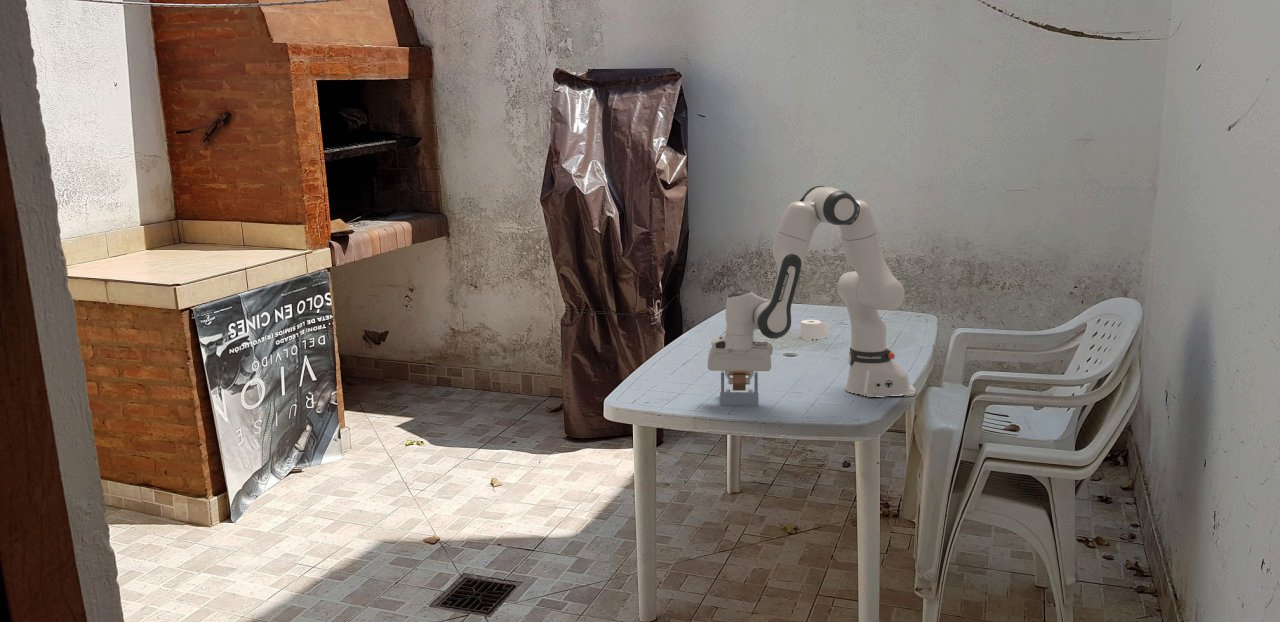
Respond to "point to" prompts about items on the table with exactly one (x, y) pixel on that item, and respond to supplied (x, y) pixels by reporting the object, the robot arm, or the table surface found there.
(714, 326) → the table surface
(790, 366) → the table surface
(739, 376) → the block
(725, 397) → the housing base
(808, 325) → the toilet paper
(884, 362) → the robot arm
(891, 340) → the table surface
